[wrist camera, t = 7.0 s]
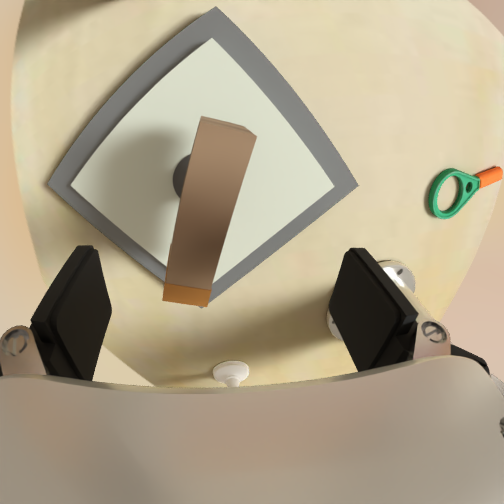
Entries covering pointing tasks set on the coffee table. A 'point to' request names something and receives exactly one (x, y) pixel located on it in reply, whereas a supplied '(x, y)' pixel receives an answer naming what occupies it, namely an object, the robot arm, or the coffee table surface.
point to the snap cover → (180, 146)
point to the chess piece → (231, 372)
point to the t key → (206, 209)
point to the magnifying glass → (461, 188)
